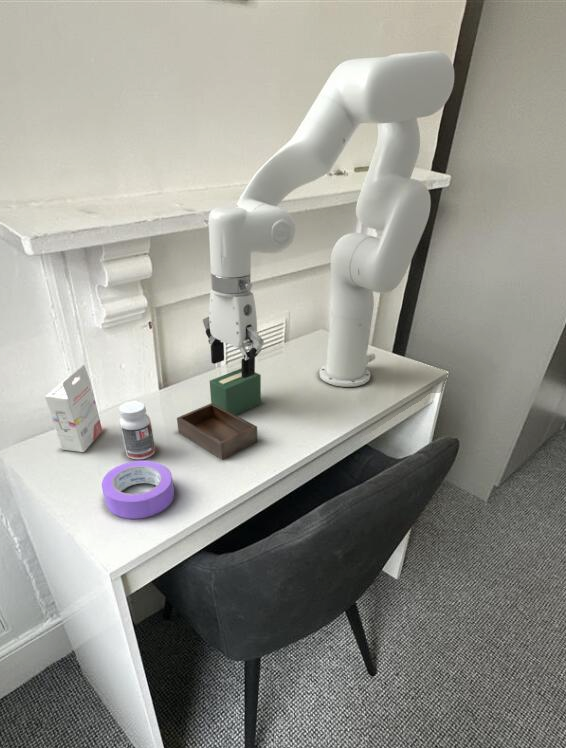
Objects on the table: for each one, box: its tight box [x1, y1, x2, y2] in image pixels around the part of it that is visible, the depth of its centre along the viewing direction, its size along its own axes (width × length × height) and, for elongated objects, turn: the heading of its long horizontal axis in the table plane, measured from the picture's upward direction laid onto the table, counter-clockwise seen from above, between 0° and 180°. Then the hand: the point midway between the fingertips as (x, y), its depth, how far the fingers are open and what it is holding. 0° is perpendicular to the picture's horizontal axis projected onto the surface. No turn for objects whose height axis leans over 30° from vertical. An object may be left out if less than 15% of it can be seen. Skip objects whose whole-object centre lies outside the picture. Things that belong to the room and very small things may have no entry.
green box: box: [209, 367, 262, 416], centre depth 109 cm, size 10×6×7 cm, turn 134°
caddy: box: [176, 402, 258, 460], centre depth 100 cm, size 9×14×4 cm
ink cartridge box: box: [44, 364, 103, 453], centre depth 95 cm, size 9×5×15 cm, turn 168°
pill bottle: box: [118, 400, 156, 461], centre depth 94 cm, size 6×6×10 cm
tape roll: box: [101, 460, 175, 520], centre depth 85 cm, size 12×12×4 cm
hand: (232, 368), depth 105 cm, fingers open, 9 cm apart
